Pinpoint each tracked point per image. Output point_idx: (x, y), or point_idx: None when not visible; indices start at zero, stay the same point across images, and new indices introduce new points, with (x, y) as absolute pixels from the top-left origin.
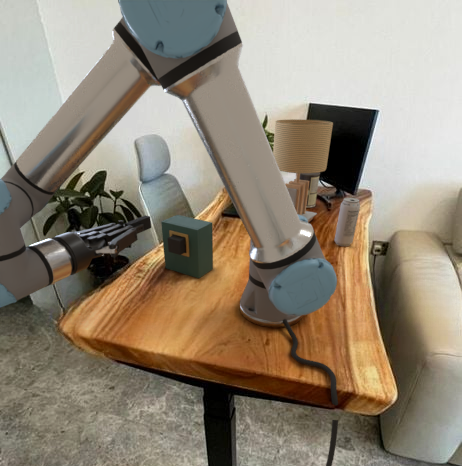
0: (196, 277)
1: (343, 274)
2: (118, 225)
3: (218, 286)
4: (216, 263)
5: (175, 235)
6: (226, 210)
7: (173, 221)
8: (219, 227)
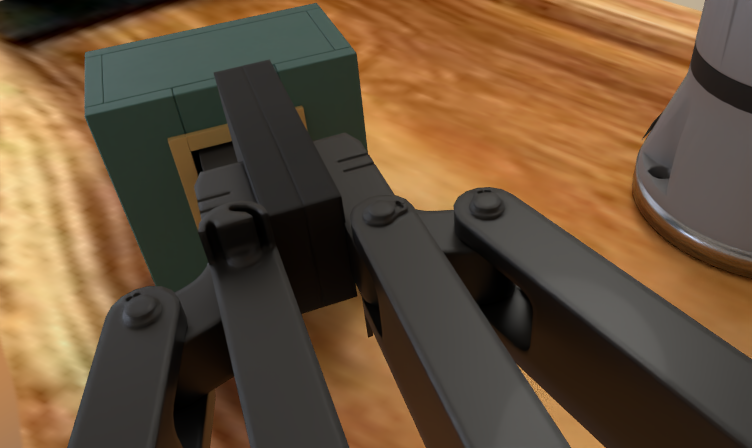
0: None
1: (620, 16)
2: (255, 279)
3: None
4: None
5: (214, 148)
6: (3, 27)
7: (149, 82)
8: (81, 79)
